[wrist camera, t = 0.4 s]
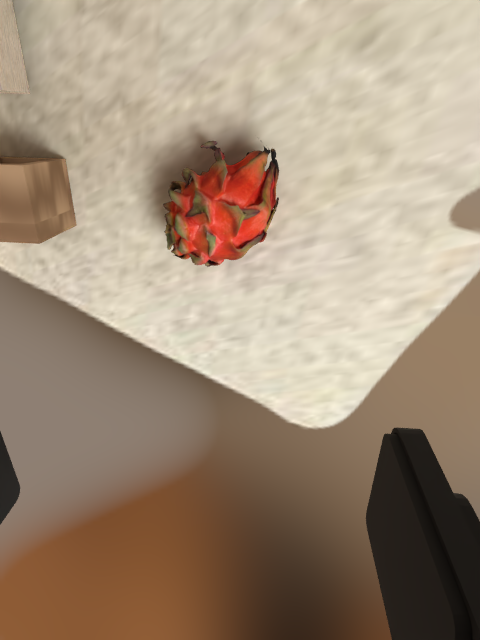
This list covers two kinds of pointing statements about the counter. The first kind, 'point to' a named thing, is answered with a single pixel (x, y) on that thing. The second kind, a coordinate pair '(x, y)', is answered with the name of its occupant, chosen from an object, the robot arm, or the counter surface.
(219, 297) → the counter surface
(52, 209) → the socket block
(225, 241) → the dragon fruit
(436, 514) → the robot arm
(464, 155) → the counter surface
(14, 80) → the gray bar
